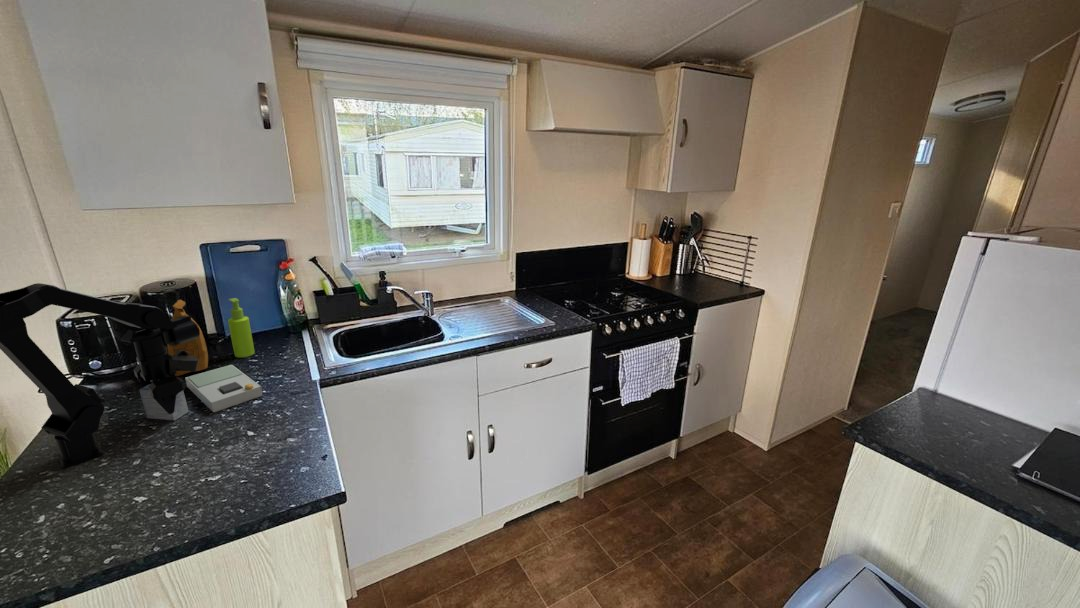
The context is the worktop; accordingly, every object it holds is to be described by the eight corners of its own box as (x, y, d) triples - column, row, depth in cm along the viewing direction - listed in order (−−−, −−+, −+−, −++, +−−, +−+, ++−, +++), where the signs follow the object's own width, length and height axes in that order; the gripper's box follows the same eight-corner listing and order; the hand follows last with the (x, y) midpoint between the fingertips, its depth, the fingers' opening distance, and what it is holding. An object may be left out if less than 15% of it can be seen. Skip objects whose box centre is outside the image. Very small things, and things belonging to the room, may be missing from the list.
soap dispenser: (250, 348, 156) (240, 295, 151) (257, 353, 152) (247, 299, 146) (231, 353, 152) (220, 299, 146) (238, 359, 148) (227, 303, 142)
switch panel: (262, 395, 125) (260, 383, 124) (213, 412, 116) (210, 399, 115) (233, 373, 138) (231, 362, 137) (187, 386, 129) (184, 375, 128)
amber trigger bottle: (212, 357, 148) (199, 296, 142) (210, 371, 138) (196, 306, 132) (175, 363, 143) (159, 300, 137) (170, 378, 133) (153, 311, 127)
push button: (242, 396, 124) (240, 386, 123) (226, 401, 121) (224, 391, 120) (237, 391, 126) (235, 381, 125) (221, 396, 123) (219, 386, 122)
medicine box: (189, 412, 116) (182, 383, 113) (174, 421, 112) (166, 391, 109) (162, 410, 117) (155, 381, 114) (146, 418, 112) (138, 389, 110)
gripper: (203, 352, 110) (215, 407, 114) (180, 334, 120) (192, 385, 125) (146, 367, 101) (161, 425, 106) (126, 346, 112) (141, 400, 116)
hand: (166, 407), depth 113 cm, fingers closed on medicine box, 9 cm apart
